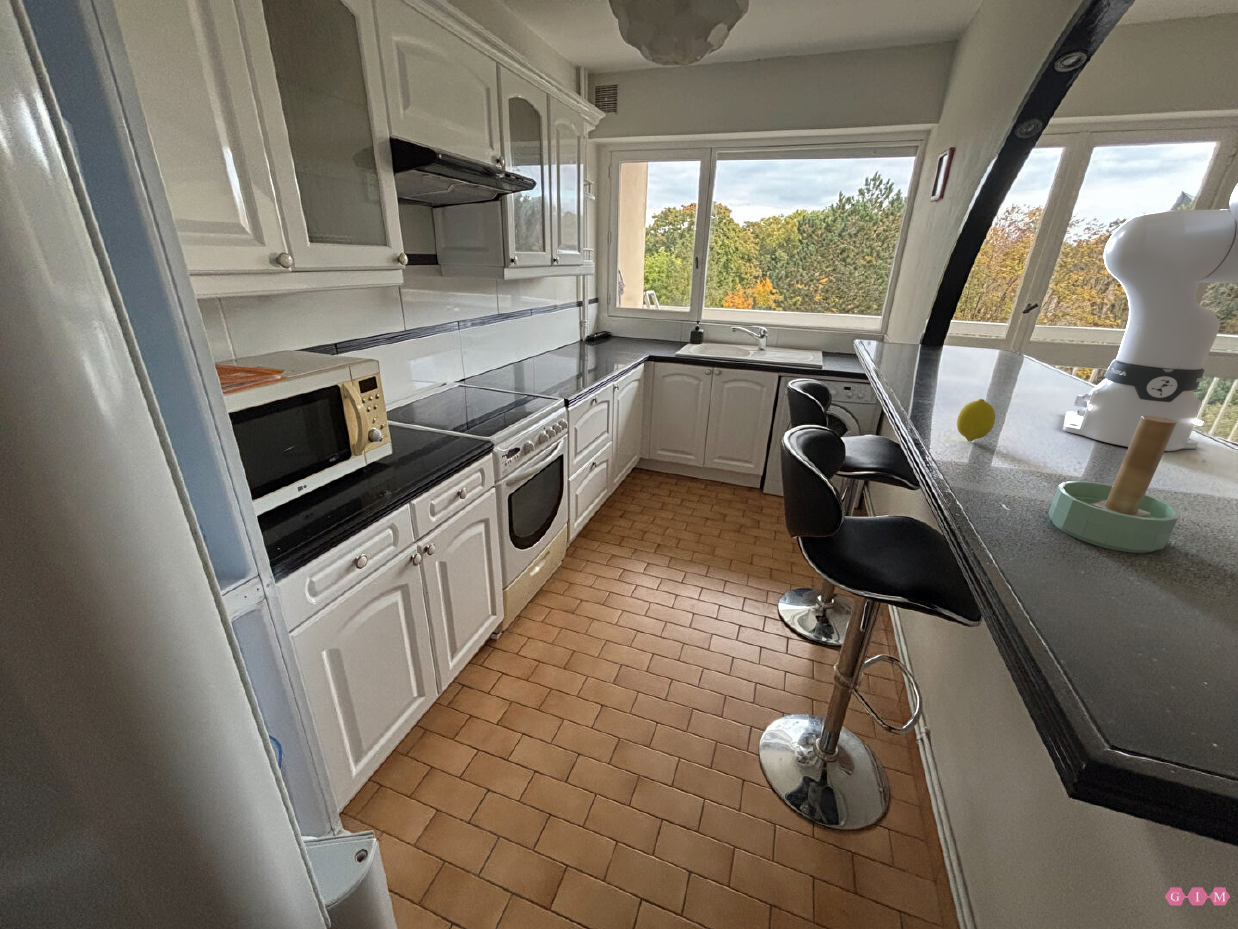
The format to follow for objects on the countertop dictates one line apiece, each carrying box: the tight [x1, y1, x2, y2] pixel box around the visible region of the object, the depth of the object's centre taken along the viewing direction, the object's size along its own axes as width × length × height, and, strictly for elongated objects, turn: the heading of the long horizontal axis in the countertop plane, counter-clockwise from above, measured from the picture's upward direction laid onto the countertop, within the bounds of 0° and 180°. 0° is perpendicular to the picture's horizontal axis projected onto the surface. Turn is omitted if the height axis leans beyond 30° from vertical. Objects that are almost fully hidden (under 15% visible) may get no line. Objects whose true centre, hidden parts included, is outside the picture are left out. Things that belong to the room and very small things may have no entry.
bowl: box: [1047, 480, 1181, 554], centre depth 61 cm, size 11×11×4 cm
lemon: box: [956, 398, 996, 442], centre depth 92 cm, size 6×6×8 cm
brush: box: [1091, 416, 1177, 518], centre depth 58 cm, size 4×4×14 cm
